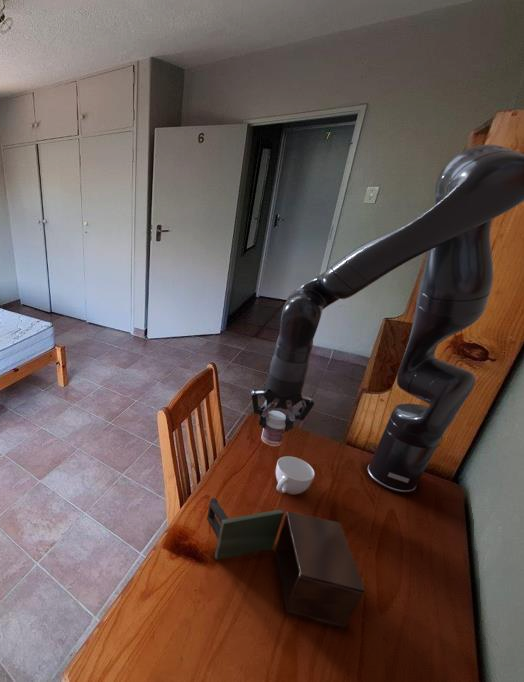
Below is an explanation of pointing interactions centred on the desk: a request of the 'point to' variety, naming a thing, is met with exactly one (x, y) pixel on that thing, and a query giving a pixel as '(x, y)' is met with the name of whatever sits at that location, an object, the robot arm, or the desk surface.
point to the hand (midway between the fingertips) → (274, 427)
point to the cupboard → (317, 570)
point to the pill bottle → (274, 428)
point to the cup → (293, 475)
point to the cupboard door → (243, 531)
